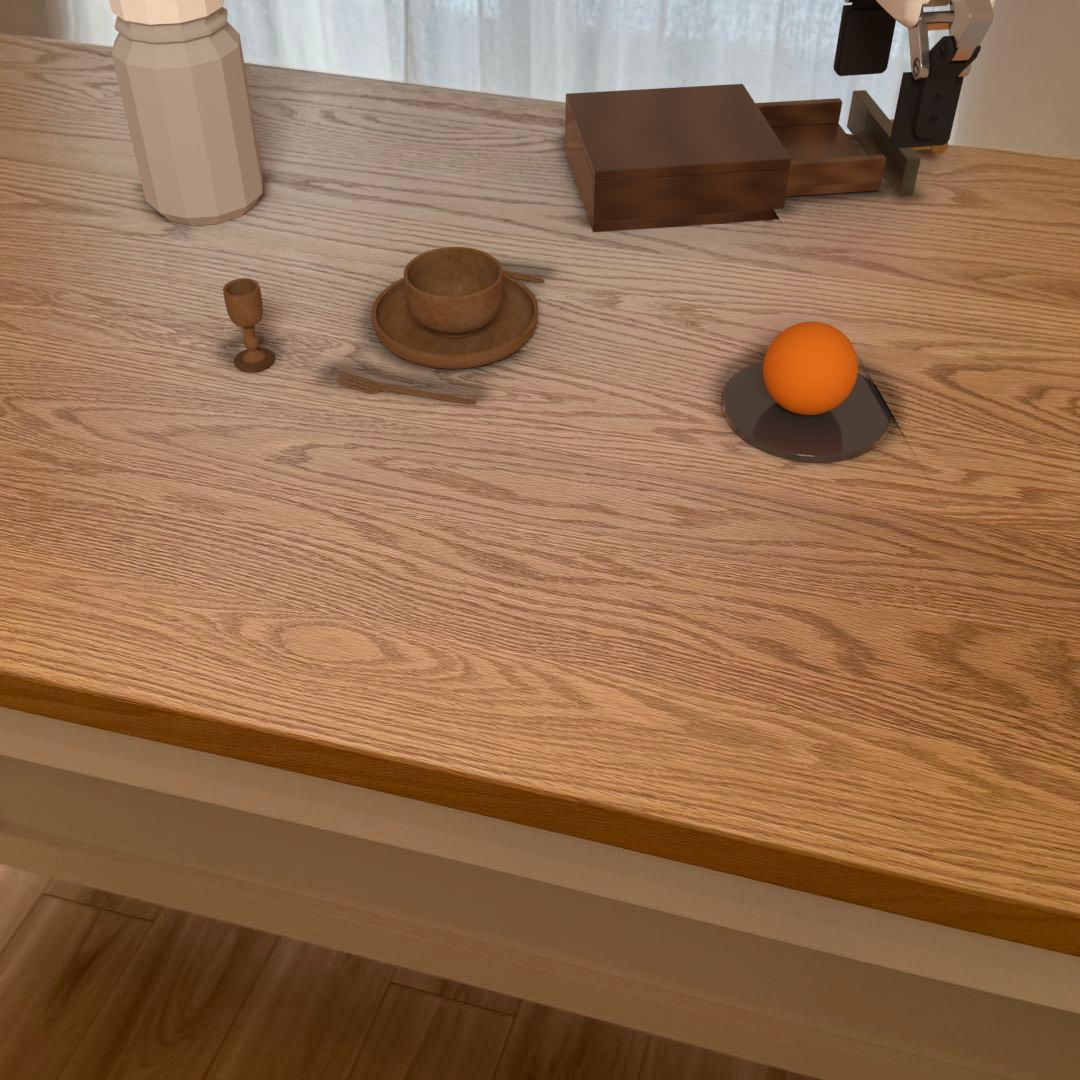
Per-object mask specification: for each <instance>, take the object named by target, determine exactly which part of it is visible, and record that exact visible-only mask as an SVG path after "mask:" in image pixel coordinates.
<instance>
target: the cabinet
mask: <svg viewBox="0 0 1080 1080" xmlns="http://www.w3.org/2000/svg"><path fill="white" fill-rule="evenodd" d="M755 103H756V101H754V99H753V97H752V96H751V94H750V93H749V91H748V90H747V88H746V86H745V85H744V84H743V83H731V84H715V85H714V84H713V85H711V84H710V85H695V86H680V87H679V86H677V87H663V88H662V87H659V88H658V87H657V88H642V89H624V90H609V91H608V90H606V91H590V92H589V91H587V92H586V91H585V92H571V93H570V92H569V93H565V112H564V113H565V114H564V115H565V119H564V152H565V155H566V158H567V159H566V160H567V161H568V164H569V167H570V170H571V172H572V175H573V179H574V181H575V184H576V187H577V190H578V193H579V195H580V198H581V201H582V204H583V207H584V210H585V213H586V215H587V218H588V221H589V224H590V228H591V230H592V232H593V233H596V232H597V233H599V232H601V233H602V232H613V231H614V232H615V231H628V230H644V229H658V228H672V227H673V228H675V227H687V226H701V225H702V224H705V225H716V224H717V223H719V224H731V223H730V222H734V223H744V222H745V221H749V222H760V221H759V220H764V221H775V220H774V219H778V220H780V218H779V216H778V214H777V213H776V210H779V209H780V210H781V209H785V203H786V197H787V196H786V191H787V184H788V177H789V171H790V163H791V158H790V157H789V155H788V153H787V152H786V150H785V149H784V147H783V146H782V144H781V143H780V141H779V139H778V138H777V136H776V135H775V133H774V132H773V130H772V128H771V127H770V125H769V124H768V122H767V121H766V119H765V118H764V116H763V114H762V113H761V111H760V110H759V108H758V107H757V105H756V104H755ZM745 223H746V222H745ZM717 225H718V224H717ZM702 226H703V225H702Z"/></svg>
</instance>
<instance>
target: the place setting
mask: <svg viewBox="0 0 1080 1080" xmlns="http://www.w3.org/2000/svg"><path fill="white" fill-rule="evenodd" d="M519 280H523V281H529V282H534V283H535V282H536V283H544V282H545V279H543V278H541V277H538V276H534V275H530V274H524V273H519V272H514V271H508V270H504V269H503V266H502V264H501V263H500V261H499V260H498V259H497V258H496V257H494V256H493V255H492V254H490V253H487V252H485V251H484V250H483V251H482V250H480V249H478V248H477V249H476V248H473V247H466V246H464V247H463V246H447V247H440V248H434V249H431V250H428V251H425V252H422V253H419V255H416V256H415V257H414V258H412V259H411V260H409V262H408V263H407V264H406V265H405V267H404V270H403V277H402V278H399V279H398V280H396V281H395V282H393V283H391V284H389V285H388V286H387V287H386V288H384V289H383V291H381V292H380V293H379V294H378V295H377V297H376V298H375V300H374V302H373V304H372V307H371V323H372V326H373V330H374V332H375V334H376V336H377V338H378V339H379V340H380V342H381V343H382V345H383V346H385V347H386V348H387V349H388V350H389V351H390V352H392V353H393V354H395V355H396V356H398V357H399V358H401V359H404V360H406V361H408V362H411V363H413V364H416V365H420V366H423V367H429V368H435V369H444V370H445V369H447V370H450V369H451V370H457V369H458V370H459V369H460V370H461V369H470V368H477V367H482V366H486V365H489V364H492V363H496V362H498V361H500V360H503V359H505V358H507V357H509V356H510V355H512V354H514V353H516V352H517V351H519V349H521V348H522V347H523V346H524V345H525V344H526V343H528V341H529V340H530V339H531V337H532V336H533V334H534V332H535V330H536V328H537V325H538V321H539V309H540V308H539V304H538V300H537V298H536V296H535V295H534V294H533V292H532V290H530V288H528V287H527V286H526V285H525V284H524V283H523V282H521V281H519ZM222 292H223V293H222V294H223V298H224V299H223V300H224V304H225V307H226V313H227V315H228V317H229V320H230V321H231V322H232V324H234V326H237V327H239V328H241V329H242V332H243V334H244V335H243V339H242V340H243V341H242V343H243V346H244V347H245V348H246V349H244V350H241V351H240V352H238V353H237V354H236V355H235V356H234V358H233V364H234V366H235V368H237V369H238V370H239V371H241V372H245V373H259V372H262V371H266V370H267V369H269V368H271V366H273V364H274V363H275V360H276V355H275V354H274V352H273V351H271V350H270V349H268V348H265V347H259V345H260V340H259V339H260V338H259V337H258V335H257V333H256V330H255V329H256V325H258V324H259V323H260V322H261V321H262V320H263V319H262V318H263V316H264V315H263V314H264V305H263V297H262V291H261V287H260V284H259V282H258V281H256V280H255V279H253V278H248V277H247V278H246V277H245V278H243V277H241V278H236V279H232V280H230V281H228V282H226V283H225V284H224V285H223V288H222ZM340 372H341V373H342V374H341V373H338V376H336V379H334V381H335V382H336V383H338V384H341V385H342V386H345V387H348V388H351V389H353V390H356V391H358V392H362V393H365V394H372V395H373V394H377V393H380V392H382V391H387V392H394V393H399V394H400V393H401V394H406V395H411V396H416V397H422V398H428V399H434V400H439V401H445V402H452V403H459V404H466V405H467V404H468V405H476V404H477V402H478V401H477V400H475V399H471V398H466V397H461V396H455V395H449V394H445V393H439V392H438V393H437V392H431V391H427V390H426V391H425V390H420V389H414V388H408V387H402V386H395V385H388V384H380V383H379V382H376V381H372V380H369V379H366V378H364V377H361V376H358V375H355V374H352V373H350V372H346V371H344V370H340ZM342 377H343V378H342ZM337 379H338V380H337Z"/></svg>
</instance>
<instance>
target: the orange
mask: <svg viewBox="0 0 1080 1080" xmlns="http://www.w3.org/2000/svg"><path fill="white" fill-rule="evenodd" d="M763 361H764V363H763V376H764V381H765V384H766V387H767V389H768V391H769V393H770V395H771V396H772V398H773V399H774V400H775V401H776V402H777V403H778V404H779V405H781V406H782V407H783V408H785V409H786V410H788V411H790V412H793V413H796V414H801V415H818V414H822V413H825V412H828V411H830V410H832V409H834V408H835V407H837V406H838V405H840V404H841V403H842V402H843V401H844V400H845V399H846V398H847V397H848V395H849V394H850V392H851V391H852V389H853V387H854V385H855V382H856V379H857V374H858V373H859V361H858V355H857V352H856V350H855V348H854V346H853V344H852V342H851V340H850V339H849V337H848V336H847V335H845V333H843V332H842V331H841V330H840V329H838V328H837V327H834V326H833V325H831V324H829V323H826V322H820V321H803V322H799V323H795V324H793V325H791V326H788V327H786V328H785V329H783V330H782V331H781V332H780V333H779V334H778V335H776V337H775V338H774V339H773V340H772V341H771V343H770V345H769V346H768V348H767V350H766V352H765V355H764V358H763Z"/></svg>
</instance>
